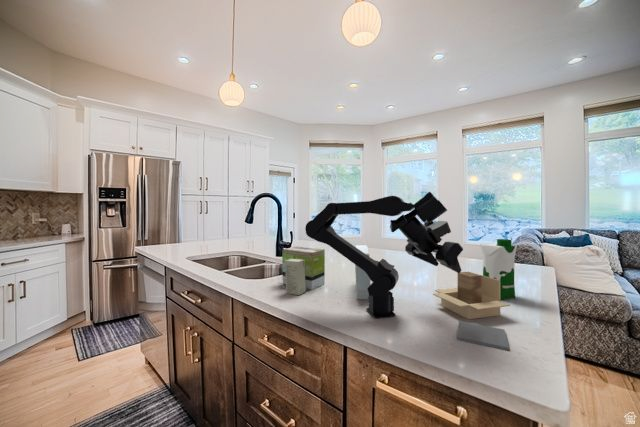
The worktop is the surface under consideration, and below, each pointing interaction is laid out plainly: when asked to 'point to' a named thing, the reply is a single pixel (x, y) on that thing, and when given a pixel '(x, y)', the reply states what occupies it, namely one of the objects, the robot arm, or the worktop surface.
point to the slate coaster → (482, 335)
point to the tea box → (307, 264)
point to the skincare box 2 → (362, 277)
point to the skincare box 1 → (295, 276)
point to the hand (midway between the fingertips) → (448, 268)
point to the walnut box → (469, 287)
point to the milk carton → (500, 265)
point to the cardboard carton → (477, 310)
